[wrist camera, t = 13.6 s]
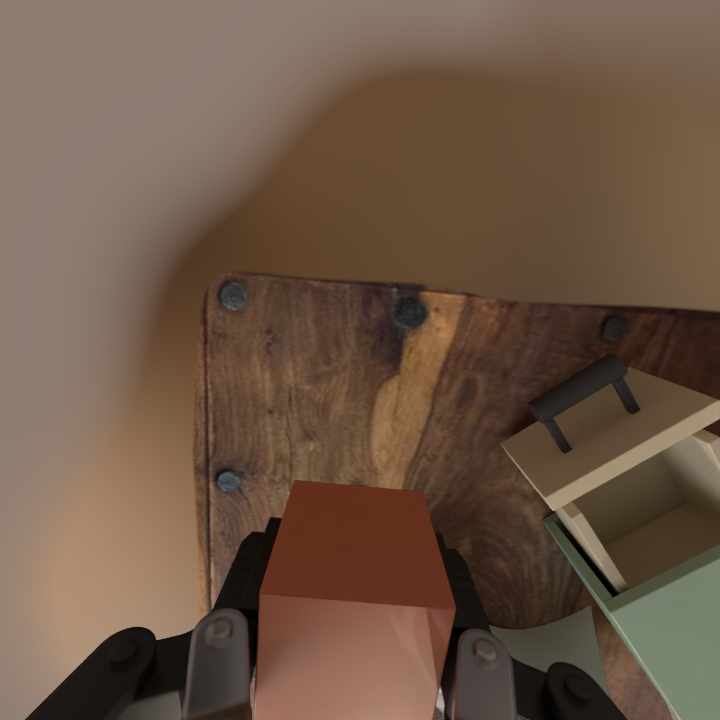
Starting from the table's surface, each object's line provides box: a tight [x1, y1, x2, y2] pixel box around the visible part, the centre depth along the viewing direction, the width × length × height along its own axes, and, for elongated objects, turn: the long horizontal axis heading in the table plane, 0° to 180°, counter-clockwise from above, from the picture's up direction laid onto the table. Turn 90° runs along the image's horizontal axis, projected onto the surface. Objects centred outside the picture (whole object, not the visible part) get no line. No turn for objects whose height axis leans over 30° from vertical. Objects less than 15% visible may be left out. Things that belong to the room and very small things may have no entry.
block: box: [253, 480, 456, 720], centre depth 11 cm, size 4×4×4 cm
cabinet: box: [542, 512, 720, 720], centre depth 29 cm, size 15×13×9 cm
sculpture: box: [436, 605, 610, 713], centre depth 31 cm, size 25×19×10 cm
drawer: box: [501, 354, 720, 596], centre depth 26 cm, size 18×11×7 cm, turn 35°
